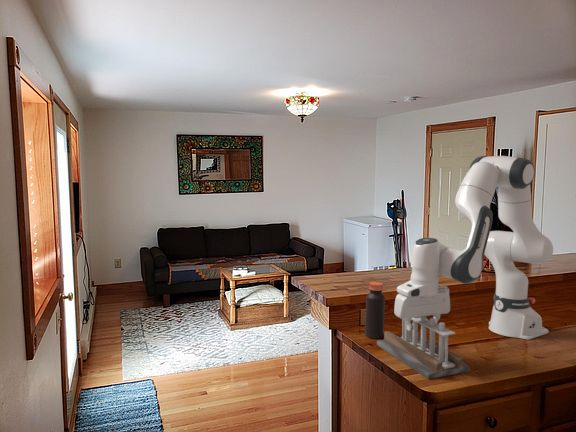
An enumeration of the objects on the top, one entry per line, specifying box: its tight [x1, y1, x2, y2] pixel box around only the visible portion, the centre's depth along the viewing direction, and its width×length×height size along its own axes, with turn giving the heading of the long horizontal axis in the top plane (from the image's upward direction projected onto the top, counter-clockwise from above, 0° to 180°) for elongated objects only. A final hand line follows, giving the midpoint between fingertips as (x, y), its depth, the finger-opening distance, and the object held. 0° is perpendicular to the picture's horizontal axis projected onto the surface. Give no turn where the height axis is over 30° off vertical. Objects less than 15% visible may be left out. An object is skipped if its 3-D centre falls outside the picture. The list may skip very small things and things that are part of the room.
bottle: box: [364, 281, 386, 340], centre depth 171 cm, size 7×7×20 cm
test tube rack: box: [400, 316, 456, 370], centre depth 152 cm, size 25×4×13 cm, turn 22°
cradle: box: [376, 330, 471, 380], centre depth 153 cm, size 16×28×4 cm, turn 22°
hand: (421, 328), depth 152 cm, fingers open, 8 cm apart
